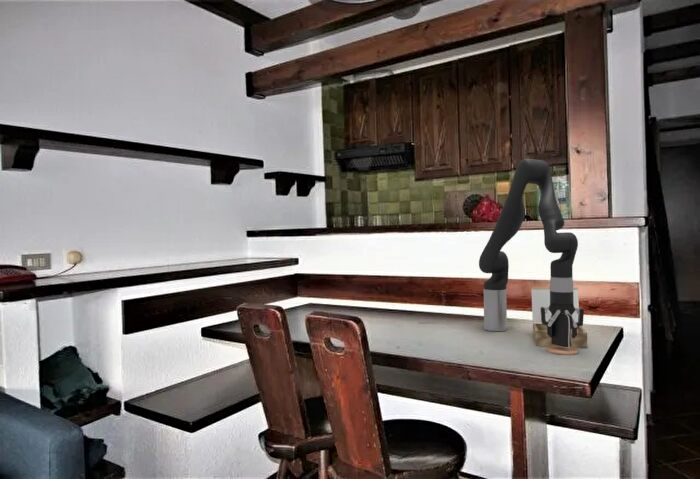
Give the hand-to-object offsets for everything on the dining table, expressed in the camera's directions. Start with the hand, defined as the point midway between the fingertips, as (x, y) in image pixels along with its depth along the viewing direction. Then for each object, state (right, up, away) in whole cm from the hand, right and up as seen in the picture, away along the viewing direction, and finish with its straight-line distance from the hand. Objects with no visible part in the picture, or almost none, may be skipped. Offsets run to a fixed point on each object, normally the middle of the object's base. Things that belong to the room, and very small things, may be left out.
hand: (561, 337), depth 168 cm
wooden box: (+4, -4, +12) cm, 14 cm away
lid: (+7, +8, +21) cm, 24 cm away
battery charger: (0, -3, 0) cm, 3 cm away
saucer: (0, -5, 0) cm, 5 cm away
